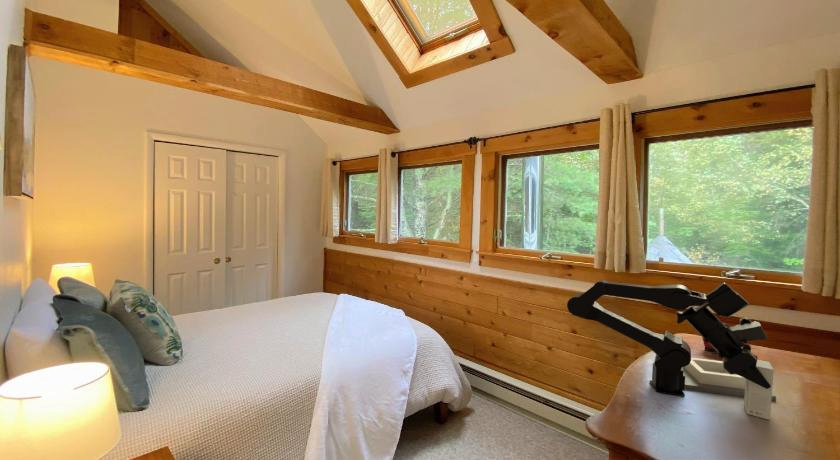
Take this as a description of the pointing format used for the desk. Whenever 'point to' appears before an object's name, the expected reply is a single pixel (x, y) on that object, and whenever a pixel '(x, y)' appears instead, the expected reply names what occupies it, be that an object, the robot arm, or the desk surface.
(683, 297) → the robot arm
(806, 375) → the desk surface
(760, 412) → the skincare box
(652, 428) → the desk surface
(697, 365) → the socket board
